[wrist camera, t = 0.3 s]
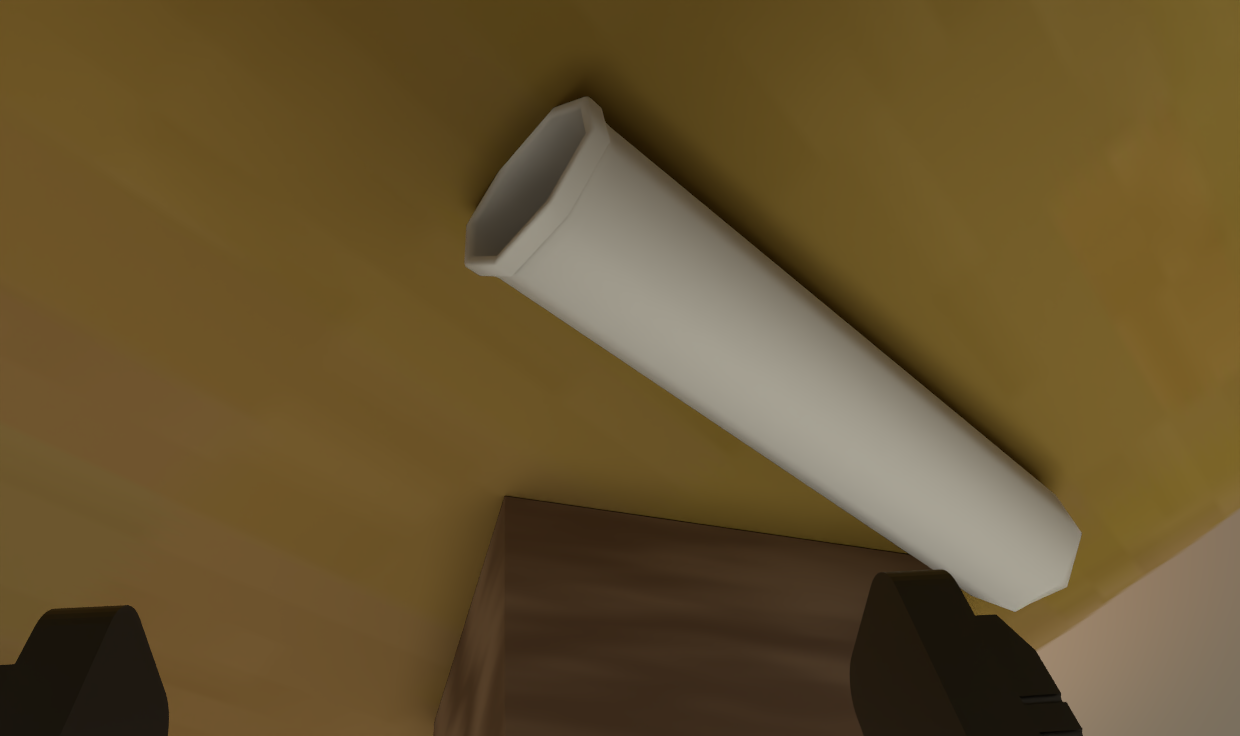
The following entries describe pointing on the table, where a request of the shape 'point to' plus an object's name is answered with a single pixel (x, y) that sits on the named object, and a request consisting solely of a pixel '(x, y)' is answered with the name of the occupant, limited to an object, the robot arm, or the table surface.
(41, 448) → the table surface
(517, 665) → the stand
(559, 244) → the tube
